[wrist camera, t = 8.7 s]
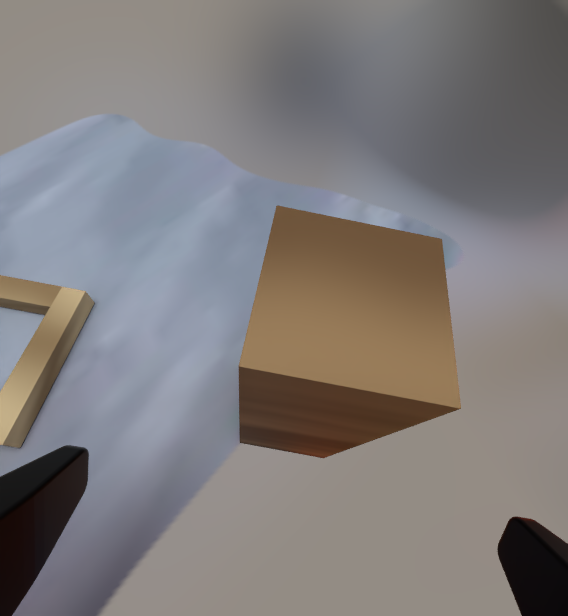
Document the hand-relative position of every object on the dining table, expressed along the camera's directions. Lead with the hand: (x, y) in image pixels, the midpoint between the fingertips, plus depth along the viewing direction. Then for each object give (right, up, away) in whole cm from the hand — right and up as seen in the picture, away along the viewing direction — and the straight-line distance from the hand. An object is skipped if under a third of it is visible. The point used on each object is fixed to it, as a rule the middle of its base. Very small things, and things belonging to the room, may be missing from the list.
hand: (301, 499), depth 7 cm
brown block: (0, -1, +9) cm, 10 cm away
